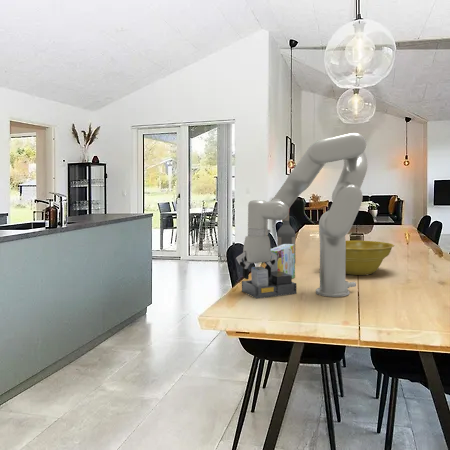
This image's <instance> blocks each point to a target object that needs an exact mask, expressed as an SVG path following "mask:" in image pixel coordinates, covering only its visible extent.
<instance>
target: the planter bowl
mask: <svg viewBox="0 0 450 450" xmlns="http://www.w3.org/2000/svg"><path fill="white" fill-rule="evenodd" d="M394 247H395V245H394V244H393V243H389V242H384V241H373V240H346V274H347V275H352V276H354V275H355V276H365V275H371V274H374V273H375V272H376V271H378V269H379V268H380V266H381V265H382V262H383V260H384V259H385V258H387V257H388V256H389V255H390V254H391V252H392V248H394Z"/></svg>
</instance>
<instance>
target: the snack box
mask: <svg viewBox="0 0 450 450" xmlns="http://www.w3.org/2000/svg"><path fill="white" fill-rule="evenodd" d="M271 252H272V253H274V254H276V255H277V256H278V257H277V259H276V260H275V263H274V264H273V265H272V267H271V271H281V272H283V273H286V274H289V275H292V279H294V278H295V277H296V250H295V251H294V244H283V245H280V246H275V247H273V248H272V247H271ZM271 259H272V256H271ZM271 259H270V260H271Z"/></svg>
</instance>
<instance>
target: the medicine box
mask: <svg viewBox="0 0 450 450" xmlns="http://www.w3.org/2000/svg"><path fill="white" fill-rule="evenodd" d="M250 269H251V270H250V271H251V272H250V273H251V274H250V275H251V280H252V285H254V286H256V287H263V286H268V270H267V269H265V267H264V266H252V267H251V268H250Z"/></svg>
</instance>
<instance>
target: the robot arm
mask: <svg viewBox="0 0 450 450" xmlns="http://www.w3.org/2000/svg"><path fill="white" fill-rule="evenodd" d="M366 148H367V141H366V139H365V136H363V135H362V134H361V133H358V132H350V133H346V134H342V135H338V136H333V137H328V138H323V139H319V140H316V141H314V142H313V143H311V145H310V146H309V147H307V150H306V151H305V153H303V155H302V157H301V158H300V159H299V161H298V162H297V164H295V166H294V168H293V169H292V170H291V172H290V174H289V175H288V176H287V178H286V179H285V181H284V183H283V184H282V186H281V187H280V188H279V190H278V191H277V192H276V193H275V195H274V197H273V198H272V199H271V201H266V200H261V199H260V200H258V199H257V200H250V201H249V202H248V203H247V204H248V205H247V235H246V236H245V237H244V241H243V247H242V248H243V250H242V251H243V252H242V253H240V254H239V255H238V256H237V257H236V258H235V260H236V261H237V263H238V265H240V267H241V268H242V277H243V279H245V280H250V279H249V274H250V273H249V271H250V270H249V266H250V264H259V263H260V264H261V263H263V264H265V265H266V266H264V268H265V269H267V270H268V278H270V275H271V267H272V265H273V264H274V263H275V260H276V259H277V257H278V256H277V255H276V254H274V253H272V252H271V249H272V247H271V239H270V236H269V234H270V233H271V229H269V228H268V227H269V226H268V222H269V220H271V221H277V222H278V221H283V219H285V218H286V217H287V216H288V213H289V214H290V212H289V208H291V206H292V205H293V204H294V203H295V201H296V200H297V198H298V197H299V196H301V194H302V193H304V192H305V191H306V190H307V189H308V188H309V187H310V186H311V184H312V183H313V182H314V181H315V178H316V177H317V176H318V175H319V173H320V172H321V171H322V170H323V168H324V166H326V164H329V163H333V162H338V161H342V160H343V167H342V171H341V172H340V176H339V178H338V181H337V183H336V184H335V186H334V189H333V191H332V192H331V193H332V194H331V200H332V204H331V206H330V208H329V210H326V211H325V212H324V213H323V214H322V215H321V216H320V219H319V222H318V230H319V232H318V233H319V287H318V288H316V289H315V293H316V294H317V295H318V296H323V297H329V298H330V297H331V298H340V297H347V296H349V295H350V288H354V287H355V288H356V286H357V283H356V282H355V281H351V282H349V281H347V280H346V241H347V240H346V236H347V235H348V233H349V232H350V231H351V229H352V227H353V225H354V222H355V221H356V217H357V216H358V213H359V211H360V209H361V206H362V203H363V196H364V195H363V192H362V190H361V187H362V185H363V182H364V180H365V177H366V175H367V171H368V157H367V155H366V152H365V151H366ZM271 256H272V259H271ZM270 259H271V260H270Z"/></svg>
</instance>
